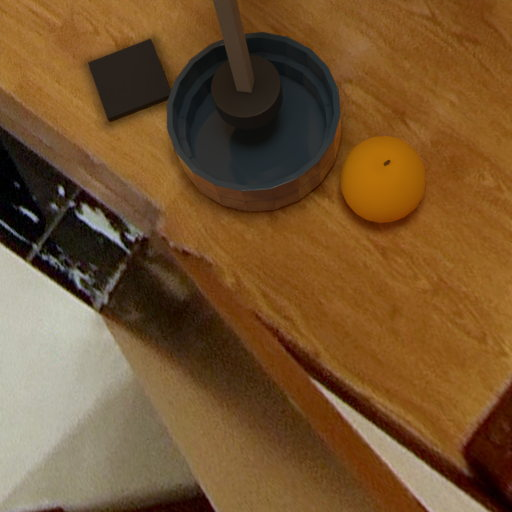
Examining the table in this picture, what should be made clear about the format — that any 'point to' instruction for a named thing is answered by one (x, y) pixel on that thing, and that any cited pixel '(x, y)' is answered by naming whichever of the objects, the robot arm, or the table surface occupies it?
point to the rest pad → (130, 80)
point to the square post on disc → (243, 76)
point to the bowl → (259, 139)
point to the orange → (383, 179)
